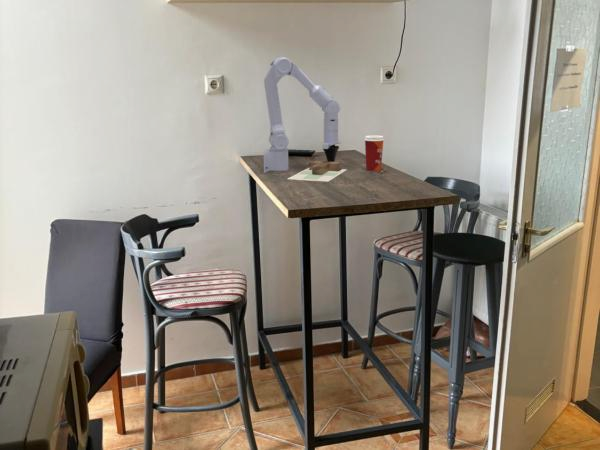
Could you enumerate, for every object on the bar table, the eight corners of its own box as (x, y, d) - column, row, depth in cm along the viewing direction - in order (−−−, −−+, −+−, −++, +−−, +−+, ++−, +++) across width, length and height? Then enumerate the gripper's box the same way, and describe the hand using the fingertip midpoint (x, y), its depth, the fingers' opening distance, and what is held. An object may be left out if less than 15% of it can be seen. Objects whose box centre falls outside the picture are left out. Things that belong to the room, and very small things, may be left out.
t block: (302, 173, 227) (302, 165, 226) (312, 168, 237) (312, 160, 237) (332, 175, 223) (332, 167, 222) (341, 169, 233) (341, 162, 233)
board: (286, 181, 218) (286, 179, 218) (308, 169, 239) (308, 167, 239) (328, 184, 212) (328, 181, 212) (347, 171, 234) (347, 169, 234)
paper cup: (382, 174, 229) (383, 137, 225) (362, 173, 230) (363, 137, 226) (384, 170, 236) (384, 135, 232) (364, 169, 238) (365, 134, 234)
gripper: (335, 133, 228) (335, 167, 232) (345, 128, 241) (345, 161, 245) (317, 132, 231) (318, 166, 234) (329, 128, 244) (329, 160, 247)
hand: (331, 164), depth 240 cm, fingers closed
